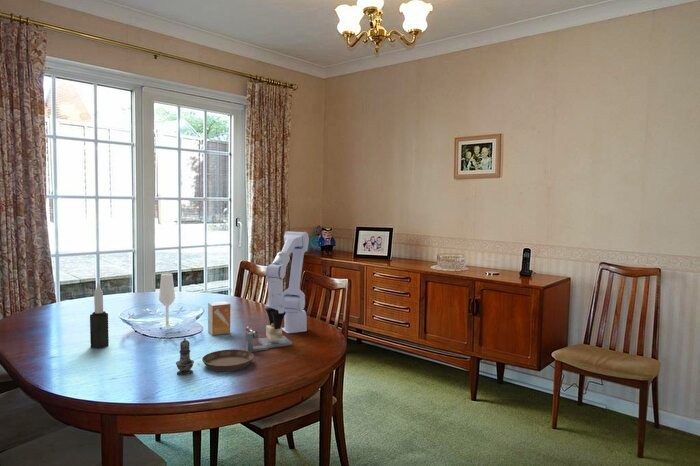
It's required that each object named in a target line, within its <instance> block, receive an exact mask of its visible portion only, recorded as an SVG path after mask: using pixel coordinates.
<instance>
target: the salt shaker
mask: <svg viewBox="0 0 700 466" xmlns="http://www.w3.org/2000/svg"><path fill="white" fill-rule="evenodd" d="M178 352H179V357H180V358H179V360H177V361H176V362H175V365H176V367H177V370H178V371H176V375H178V376H181V377H185V376H190V375H192V374H193V373H194V370H193V369H192V368H193V366H194V363H195V360H193V359H191V356H190V354H191V353H190V352H192V351H191V350H190V341H189V340H187V339H186V337H184V339H183V340H182V341H180V350H179V351H178Z"/></svg>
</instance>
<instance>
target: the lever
mask: <svg viewBox="0 0 700 466" xmlns="http://www.w3.org/2000/svg"><path fill="white" fill-rule="evenodd" d="M245 331H246V332H252V333H253V340H254V339H255V340H256V339H259V338H258V337H259V333H258V331H257V330H253V329H252V327H251V326H246V327H245Z"/></svg>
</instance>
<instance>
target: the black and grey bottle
mask: <svg viewBox="0 0 700 466" xmlns="http://www.w3.org/2000/svg"><path fill="white" fill-rule="evenodd" d="M93 293H94V294H93V296H94V297H93V298H94V301H93V302H94V311H93V312H92V313H91V314H90V315H89V331H90V332H89V333H90V335H89V338H90V340H89V342H90V348H91V349H97V350H99V349H103V348H106V347H109V343H110V342H109V341H110V340H109V313H107V312H106V311H105V310H104V292H103V290H102V289H101V285H100V282H97V283H96V289H95V290H94V292H93Z"/></svg>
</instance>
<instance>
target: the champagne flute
mask: <svg viewBox="0 0 700 466" xmlns="http://www.w3.org/2000/svg"><path fill="white" fill-rule="evenodd" d="M173 275H174V274H173V273H170V272H169V273H161V274H160V282H159V283H160V284H159V294H158V295H159V297H158V301H159V302H160V303H161V304H162V305H163V306H164V307H165V323H164V324H162V326H164V327H171V326H172V325H173V324H171V323H169V322H170V320H169V317H170V316H169V315H170V314H169V313H170V312H169V309H170V308H169V306H171V305H172V304H173V303H174V302H175V300H176V295H175V292H176V291H175V284H174V276H173Z"/></svg>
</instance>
